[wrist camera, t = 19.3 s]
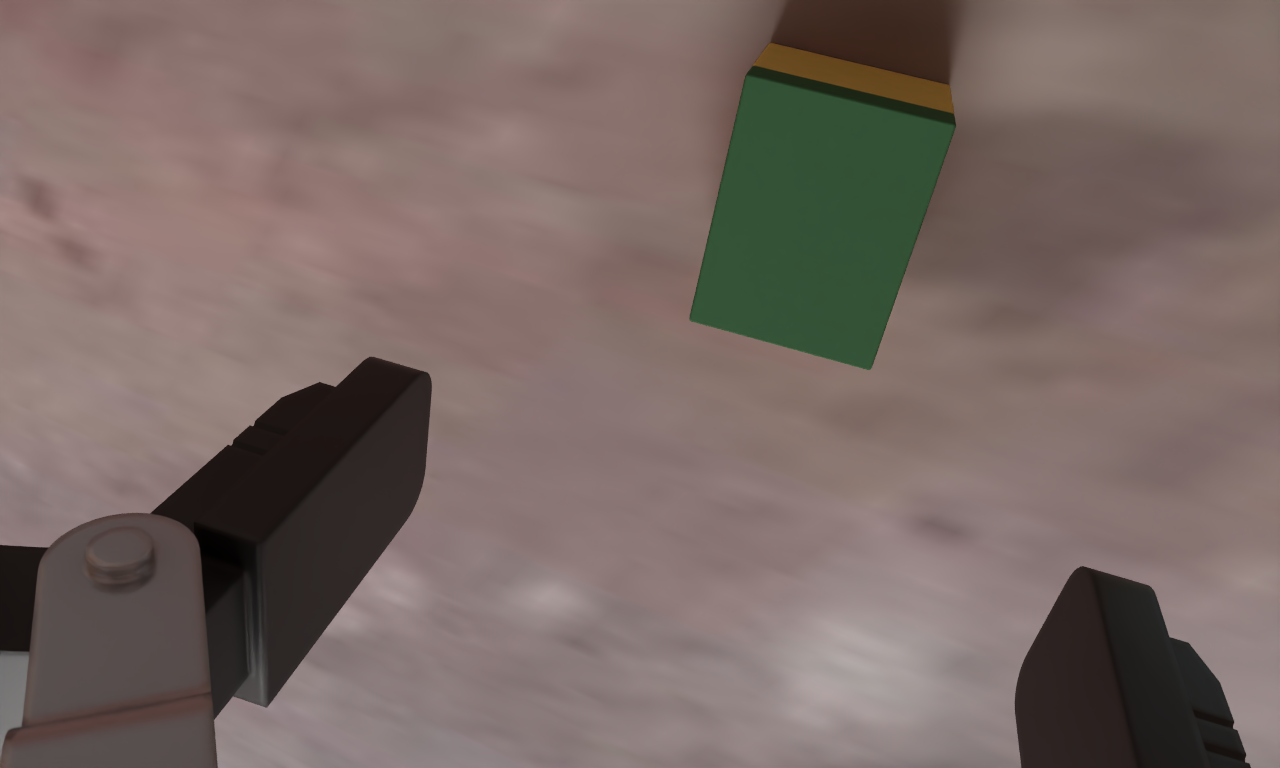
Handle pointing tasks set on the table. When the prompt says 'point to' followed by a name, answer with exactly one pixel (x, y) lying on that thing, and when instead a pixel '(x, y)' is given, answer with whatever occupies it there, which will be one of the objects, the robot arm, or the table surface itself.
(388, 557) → the table surface
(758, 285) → the sponge
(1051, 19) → the table surface
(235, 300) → the table surface
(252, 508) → the robot arm
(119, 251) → the table surface
